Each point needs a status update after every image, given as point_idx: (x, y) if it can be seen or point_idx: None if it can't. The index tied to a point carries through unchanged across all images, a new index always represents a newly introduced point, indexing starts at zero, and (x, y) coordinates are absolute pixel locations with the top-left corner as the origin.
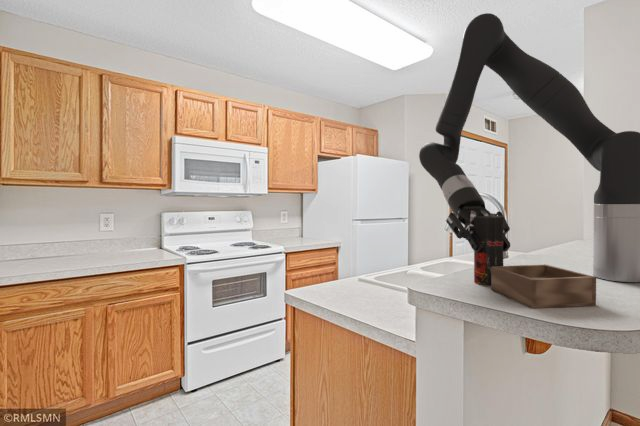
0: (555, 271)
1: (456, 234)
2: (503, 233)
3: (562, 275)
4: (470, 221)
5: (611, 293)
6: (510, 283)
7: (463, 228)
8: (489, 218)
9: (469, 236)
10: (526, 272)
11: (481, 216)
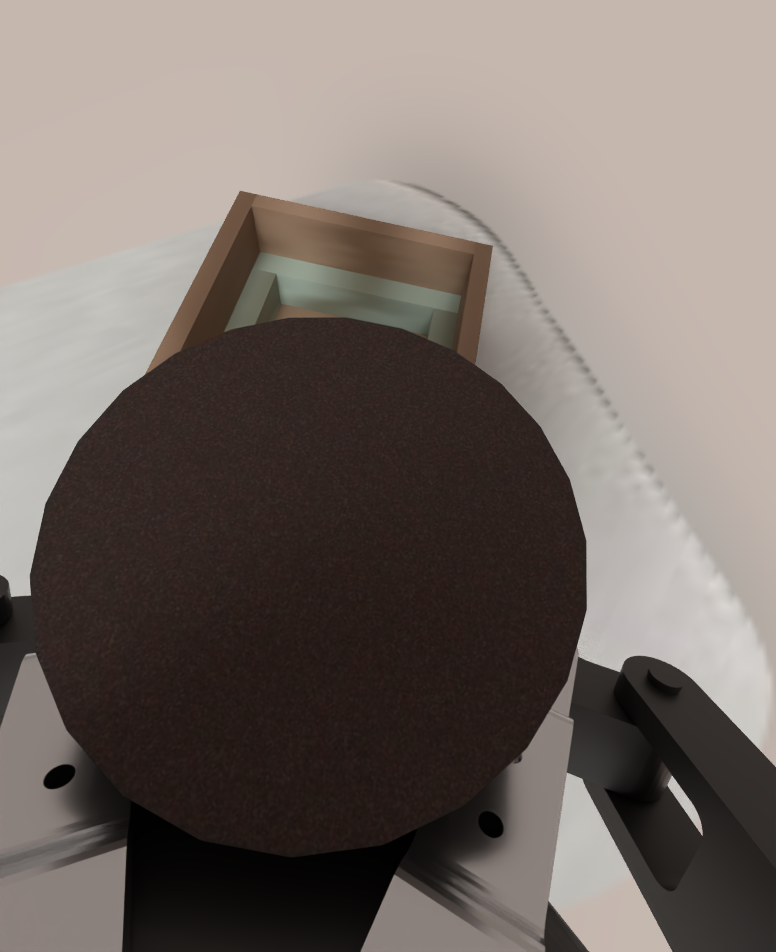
0: (194, 342)
1: (672, 799)
2: None
3: (213, 316)
4: (562, 756)
5: (38, 325)
6: None
7: (665, 702)
8: (470, 369)
9: None
10: None
11: (336, 712)
